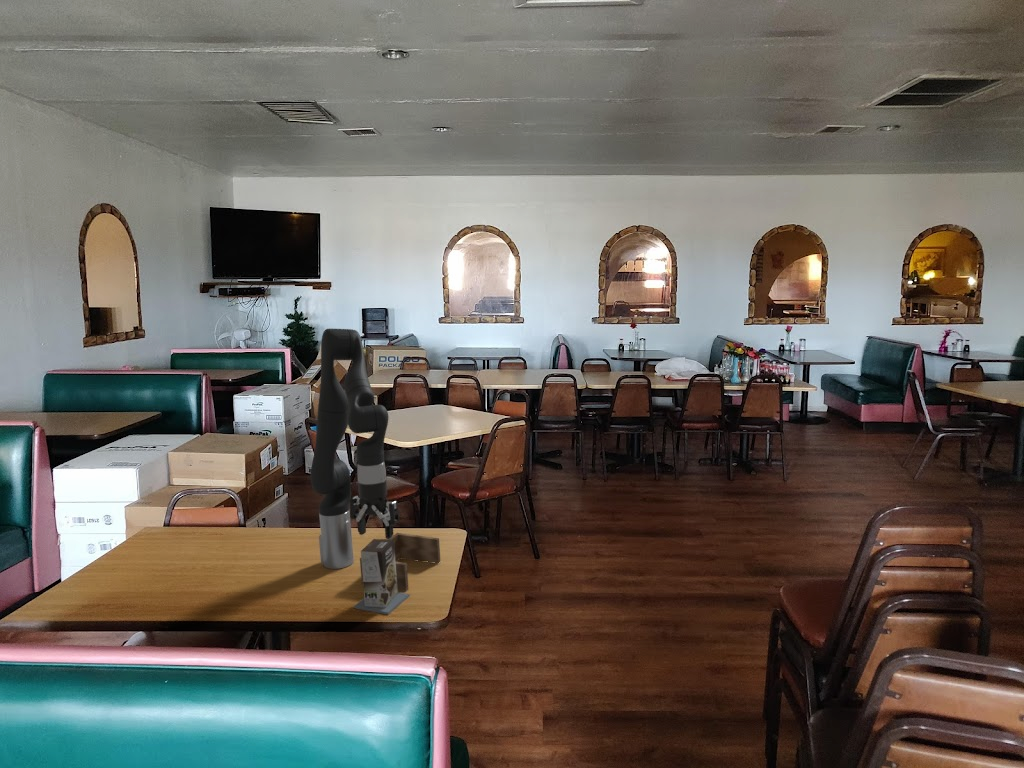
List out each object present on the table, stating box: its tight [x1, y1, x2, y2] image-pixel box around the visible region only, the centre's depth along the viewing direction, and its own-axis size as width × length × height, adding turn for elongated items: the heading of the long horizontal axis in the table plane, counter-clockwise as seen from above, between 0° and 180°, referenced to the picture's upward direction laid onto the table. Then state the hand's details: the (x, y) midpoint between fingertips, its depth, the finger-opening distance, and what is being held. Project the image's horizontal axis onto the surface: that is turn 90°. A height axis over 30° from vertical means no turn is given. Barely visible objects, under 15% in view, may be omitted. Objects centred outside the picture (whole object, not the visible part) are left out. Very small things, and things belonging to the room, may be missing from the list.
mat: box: [353, 591, 411, 615], centre depth 192 cm, size 11×11×1 cm
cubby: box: [359, 532, 441, 592], centre depth 209 cm, size 15×20×8 cm
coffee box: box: [360, 538, 399, 608], centre depth 191 cm, size 9×6×16 cm
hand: (375, 535), depth 188 cm, fingers open, 8 cm apart
